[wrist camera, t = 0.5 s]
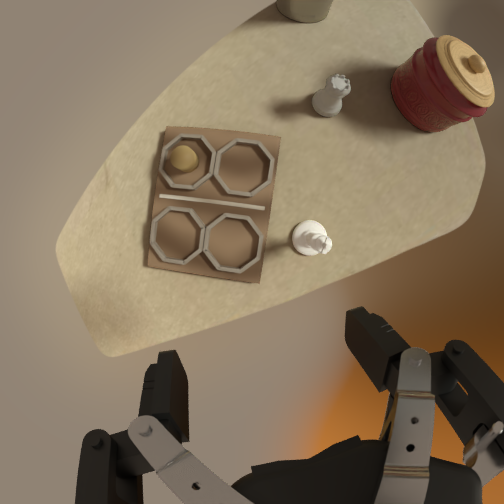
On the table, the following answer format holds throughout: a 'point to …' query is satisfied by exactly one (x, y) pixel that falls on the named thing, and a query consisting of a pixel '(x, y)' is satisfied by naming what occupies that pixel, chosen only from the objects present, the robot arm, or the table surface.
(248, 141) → the brown octagon slot tray
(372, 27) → the table surface
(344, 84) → the rook chess piece
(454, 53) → the canister
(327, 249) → the chess piece
